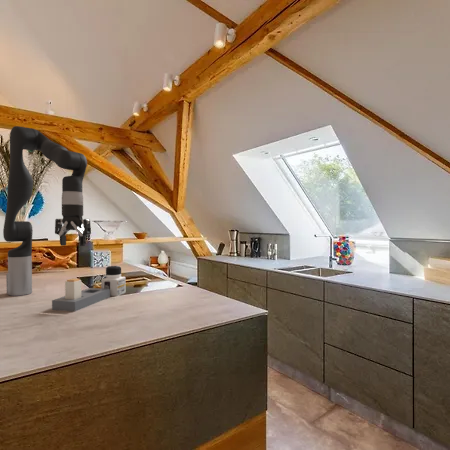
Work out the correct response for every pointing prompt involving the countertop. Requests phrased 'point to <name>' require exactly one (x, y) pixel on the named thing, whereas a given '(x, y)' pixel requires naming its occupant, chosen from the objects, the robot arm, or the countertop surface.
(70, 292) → the plug peg
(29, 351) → the countertop surface
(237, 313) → the countertop surface
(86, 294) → the panel
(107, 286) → the container
